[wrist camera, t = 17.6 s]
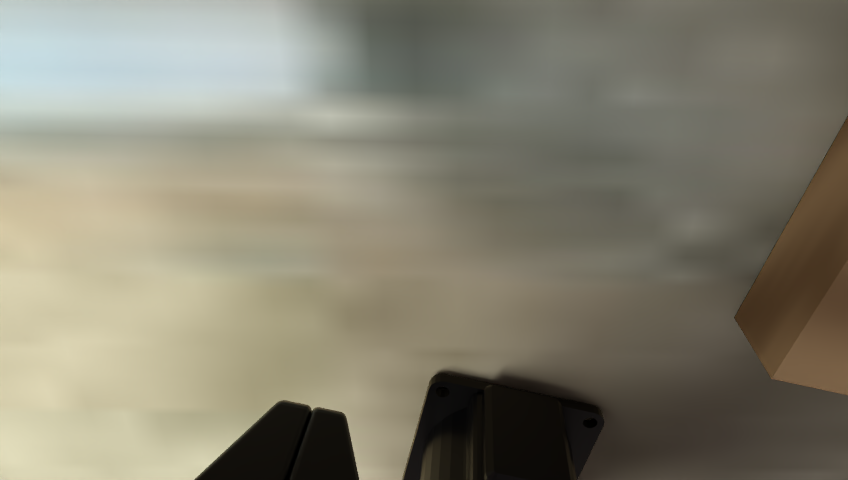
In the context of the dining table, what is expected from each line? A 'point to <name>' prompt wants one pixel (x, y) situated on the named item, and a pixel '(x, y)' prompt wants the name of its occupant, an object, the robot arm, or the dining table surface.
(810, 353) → the walnut board
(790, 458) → the dining table surface
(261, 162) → the dining table surface
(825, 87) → the dining table surface
